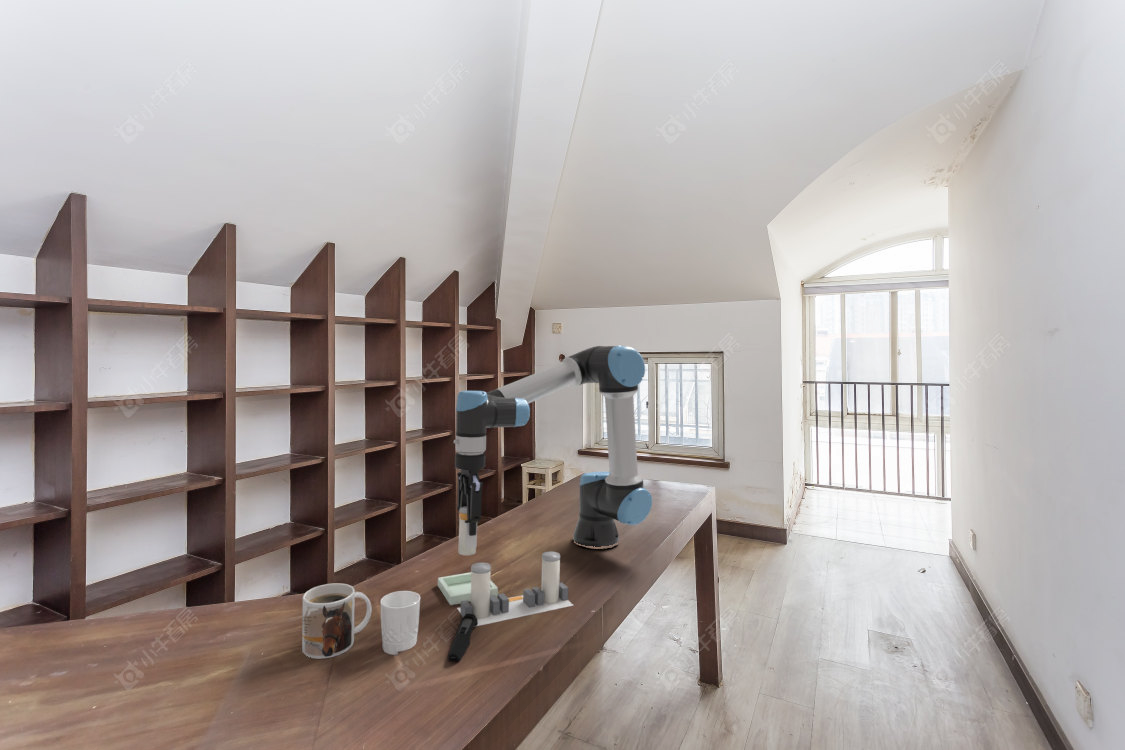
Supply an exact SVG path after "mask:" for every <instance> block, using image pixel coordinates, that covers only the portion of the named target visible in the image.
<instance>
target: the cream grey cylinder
mask: <svg viewBox="0 0 1125 750" xmlns="http://www.w3.org/2000/svg"><path fill="white" fill-rule="evenodd" d="M560 567H561V554H560V553H559V552H556V551H545V552H543V553H542V554H541V588H540V589H541V590H542V591H543V592H544V603H547V604H554V603H557V602H558V601H559V583H560V572H561V569H560Z"/></svg>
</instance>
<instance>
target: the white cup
mask: <svg viewBox="0 0 1125 750" xmlns="http://www.w3.org/2000/svg"><path fill="white" fill-rule="evenodd" d="M379 601H380V626H381V627H380V628H381V631H380V632H381V639H382V640H381V641H382V642H381V643H382V645H381V647H382V650H383V652H384V653H386V654H388V655H391V656H392V655H393V656H399V652H404V651H407V650H409V649H412V648H413V647H414V646H416V644H417V641H418V632H419V624H420V623H419V622H420V608H421V607H420V606H421V595H420V594H419V593H418V592H415V591H411V590H400V591H399V590H398V591H393V592H390V593H387V594H386V595H384V596H382V598H381V599H380V600H379Z"/></svg>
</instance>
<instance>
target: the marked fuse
mask: <svg viewBox="0 0 1125 750" xmlns="http://www.w3.org/2000/svg"><path fill="white" fill-rule="evenodd" d="M458 517H459V518H458V519H459V521H458V522H459V525H458V550H457V551H458V554H459V555H462V556H473V555H475V554H476V553H477V547H474V548H467V549H466V548H465V535H466V523H465V520H467V506H463V507H460V514H459V516H458Z"/></svg>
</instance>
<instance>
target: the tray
mask: <svg viewBox="0 0 1125 750" xmlns="http://www.w3.org/2000/svg"><path fill="white" fill-rule="evenodd" d="M437 587H438V588H439V590H440V591H441V593H442V594H443V596H444V598H445V600H446V601H447V602H448V604H449V606H454V605H461V601H465V600H467V601H468V602H469V603H471V571H470V572H466V573H465V572H464V573H459V574H452V575H448V576H447V575H446V576H441V577H438V578H437ZM498 594H499V587H498V586H497V585H496V584H495V583H494V582H493V581H492V579H490V596H491V595H495V596H496V597H497V596H498Z"/></svg>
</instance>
